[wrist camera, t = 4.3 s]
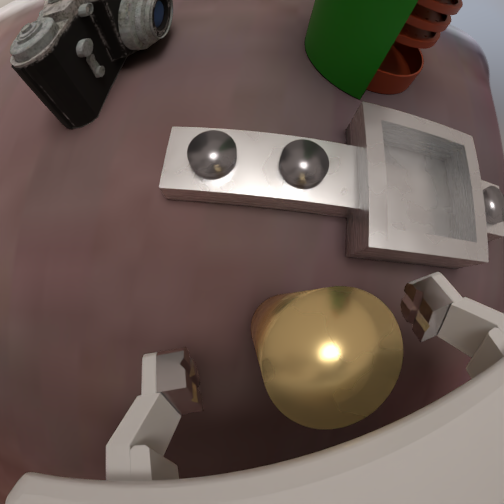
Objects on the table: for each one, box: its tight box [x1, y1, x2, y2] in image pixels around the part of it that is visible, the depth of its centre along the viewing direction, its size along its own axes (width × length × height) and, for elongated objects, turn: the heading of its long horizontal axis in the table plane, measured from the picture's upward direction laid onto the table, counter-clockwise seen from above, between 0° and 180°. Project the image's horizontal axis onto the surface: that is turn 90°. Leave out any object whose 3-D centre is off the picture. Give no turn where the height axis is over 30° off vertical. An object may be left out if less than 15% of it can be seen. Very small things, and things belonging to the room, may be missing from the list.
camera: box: [10, 0, 173, 129], centre depth 13 cm, size 15×7×10 cm, turn 171°
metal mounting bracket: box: [159, 101, 504, 269], centre depth 15 cm, size 22×8×3 cm, turn 84°
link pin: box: [251, 286, 403, 429], centre depth 11 cm, size 4×4×9 cm
